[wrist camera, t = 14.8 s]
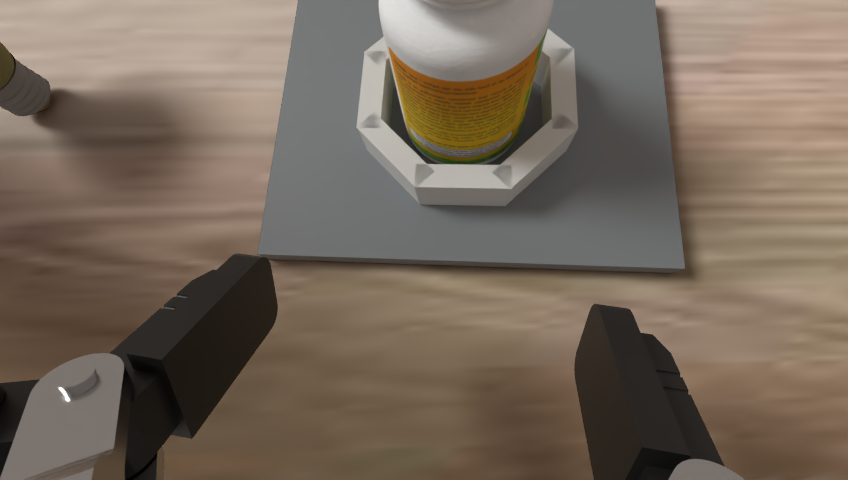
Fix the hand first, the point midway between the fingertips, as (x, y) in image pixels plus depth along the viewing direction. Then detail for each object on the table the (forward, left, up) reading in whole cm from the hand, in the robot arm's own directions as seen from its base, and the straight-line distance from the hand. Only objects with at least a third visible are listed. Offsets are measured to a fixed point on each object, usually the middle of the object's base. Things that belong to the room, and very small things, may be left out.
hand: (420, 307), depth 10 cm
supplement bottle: (-5, +8, -7) cm, 12 cm away
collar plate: (-5, +9, -8) cm, 12 cm away
